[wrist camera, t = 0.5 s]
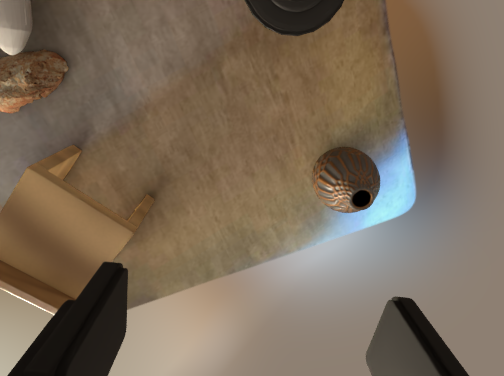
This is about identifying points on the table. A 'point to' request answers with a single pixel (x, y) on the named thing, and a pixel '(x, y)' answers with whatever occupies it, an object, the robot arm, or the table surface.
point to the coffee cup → (293, 14)
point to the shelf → (57, 234)
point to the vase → (346, 179)
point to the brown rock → (29, 78)
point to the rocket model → (15, 25)
